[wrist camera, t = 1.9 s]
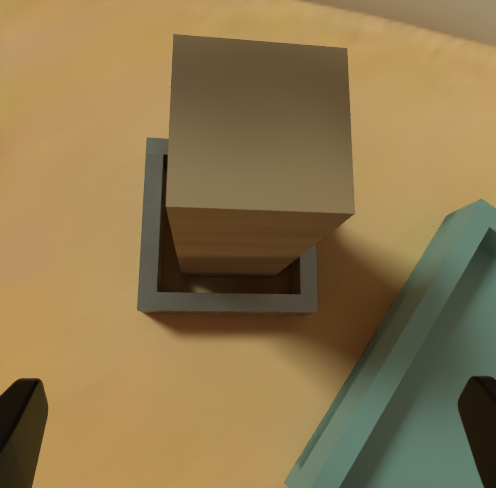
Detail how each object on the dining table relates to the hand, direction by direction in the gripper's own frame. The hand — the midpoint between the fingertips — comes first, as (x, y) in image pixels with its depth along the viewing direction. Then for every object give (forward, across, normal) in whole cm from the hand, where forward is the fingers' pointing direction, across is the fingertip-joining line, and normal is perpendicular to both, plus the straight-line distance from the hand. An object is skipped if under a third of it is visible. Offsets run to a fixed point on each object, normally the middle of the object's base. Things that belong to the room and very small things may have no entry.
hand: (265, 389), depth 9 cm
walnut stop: (+13, 0, +4) cm, 14 cm away
